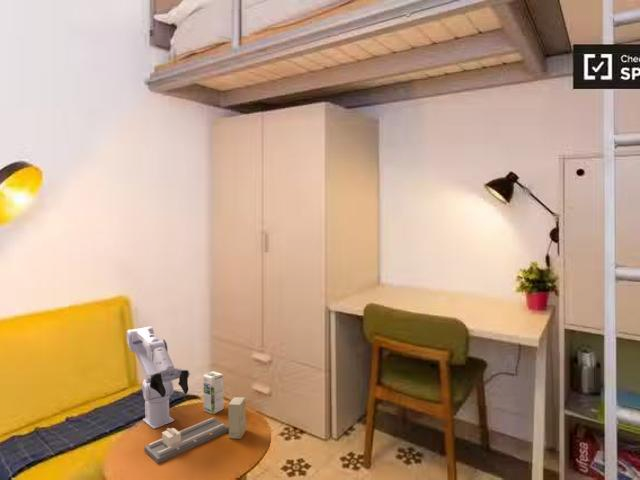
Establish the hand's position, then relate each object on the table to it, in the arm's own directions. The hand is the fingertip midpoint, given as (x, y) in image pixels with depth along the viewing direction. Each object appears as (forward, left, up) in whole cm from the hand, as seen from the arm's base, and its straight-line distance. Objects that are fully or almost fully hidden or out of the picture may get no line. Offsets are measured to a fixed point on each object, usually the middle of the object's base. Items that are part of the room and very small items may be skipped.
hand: (175, 393), depth 137 cm
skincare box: (+8, +19, -19) cm, 28 cm away
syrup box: (-14, +23, -19) cm, 33 cm away
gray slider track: (-1, +5, -19) cm, 19 cm away
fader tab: (-1, -1, -17) cm, 17 cm away
